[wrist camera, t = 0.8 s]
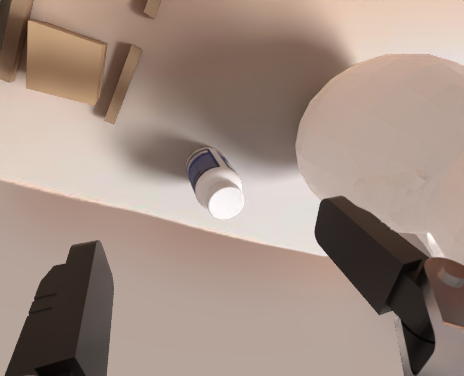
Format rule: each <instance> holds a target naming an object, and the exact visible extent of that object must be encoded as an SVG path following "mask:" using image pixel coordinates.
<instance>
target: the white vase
mask: <svg viewBox="0 0 464 376" xmlns="http://www.w3.org/2000/svg"><path fill="white" fill-rule="evenodd" d="M295 149H296V156H297V162H298V167H299V169H300V171H301V174H302V176H303V178H304V179H305V181H306V183H307V184H308V186H309V188H310V189H311V191H312V192H313V193H314V194H315V195H316V196H317V197H318V198H319V199H320V200H321V201H322V200H323V199H325V198H330V197H336V196H344V197H346V198H347V199H348V200H350V201H351V202H352V203H353V204H355V205H356V206H358V207H360V208H362V209H365V210H367V211H369V212H371V213H372V214H373V215H375V216H376V217H377V218H378V219H380V220H381V222H382V223H383V222H384V223H385V224H386V225H387V226H389V227H390V229H391V230H394V231H395V232H400V233H413V234H416V235H417V237H418V238H419V239H420V240H421V241H422V242H423V244H424V245H425V246H426V248H427V249H428V251H429V252H430V254H431V255H432V257H442V258H447V259H450V260H453V261H456V262H458V263H460V264H462V265H464V66H462V65H460V64H458V63H456V62H453V61H449V60H446V59H443V58H439V57H436V56H433V55H429V54H387V55H383V56H380V57H376V58H373V59H370V60H367V61H364V62H361V63H358V64H355V65H353V66H351V67H349V68H348V69H346V70H345V71H343V72H341V73H340V74H338V75H337V76H335V77H334V78H332V79H331V80H330V81H329V82H328V83H327V84H326V85H325V86H324V87H323V88H322V89H321V90H320V91H319V92H318V93H317V94H316V96H315V97H314V98H313V99H312V100H311V101H310V102H309V105H308V107H307V109H306V111H305V113H304V115H303V117H302V119H301V121H300V124H299V128H298V134H297V139H296V145H295Z"/></svg>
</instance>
